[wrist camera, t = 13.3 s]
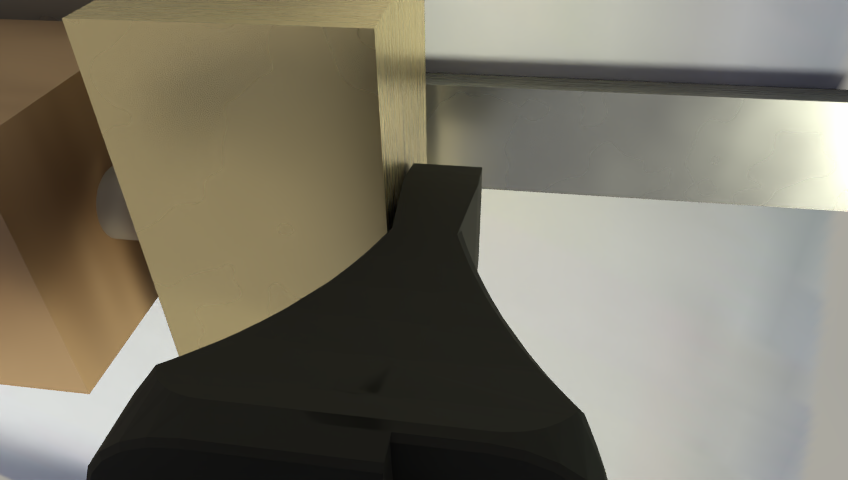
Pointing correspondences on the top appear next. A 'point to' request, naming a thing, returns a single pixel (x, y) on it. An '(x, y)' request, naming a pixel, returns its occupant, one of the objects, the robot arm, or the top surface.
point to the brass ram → (254, 141)
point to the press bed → (625, 135)
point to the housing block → (60, 222)
